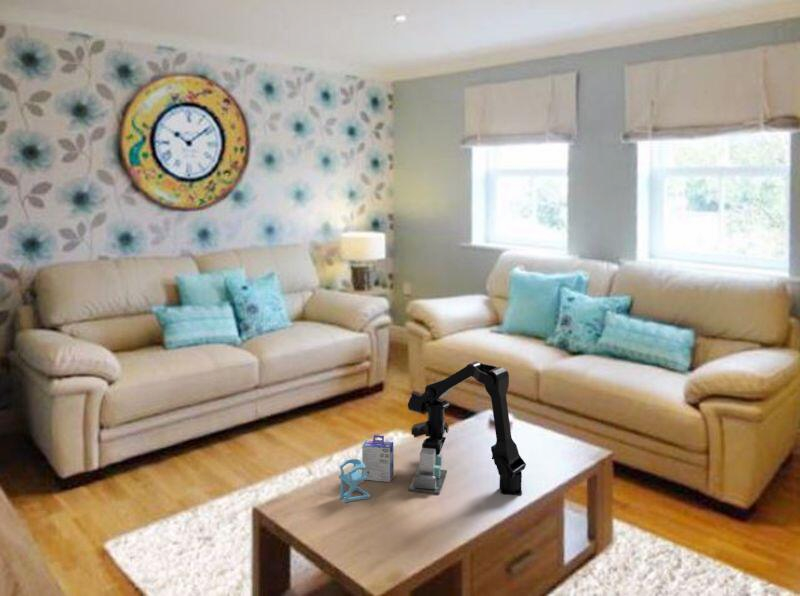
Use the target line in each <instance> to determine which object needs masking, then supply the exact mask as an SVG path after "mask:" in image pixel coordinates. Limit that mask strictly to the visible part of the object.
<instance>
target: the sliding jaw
mask: <svg viewBox="0 0 800 596" xmlns="http://www.w3.org/2000/svg"><path fill="white" fill-rule="evenodd" d="M442 465H443V455H442V454H441V453H440V454H436V458H435V476H436V478H440V470H441V467H442ZM418 467H419V475H420V464H419V465H418Z"/></svg>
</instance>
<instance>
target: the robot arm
mask: <svg viewBox="0 0 800 596" xmlns="http://www.w3.org/2000/svg"><path fill="white" fill-rule="evenodd" d="M470 378H474V380H475V381H476V382H478V383H480V384H483V385H484V388H485V391H486V393H487V394H488V396H490V399H491V400H490V401H491V407H492V415H493V423H494V430H495V437H496V440H495V441H496V442H495V444H493V445H492V446H491V447H490V451H491V456H492V457H491V460H493V462H494V466H496V469H497V472H498V475H499V482H498V483H499V484H498V486H499V489H500V493H501V494H503V495H517V496H518V495H519V494H521V495H523V491H522V477H523V474H522V473H523V472H522V471H524V470H525V469H526V466H527V464H526V462H525V461H524V459H523V458H522V456H521V455H520V453H519V448H518V447H517V444H516V443H515V441H514V440H513V438H512V437H513V436H512V432H511V424H510V417H509V408H508V401H507V393H508V389H509V385H510V384H509V383H510V375H509V372H508V370H507V369H505V368H504V367H502V366H495V365H492V364H487V363H486V364H485V363H483V362H482V363H481V362H479V361H473V362H471V363H469V364H467V365H466V366H465V367H463V368H462V369H460V370H458V371H456V372H455V373H453V374H450V376H447V377H446V378H443V379H440V380H438V381H435V382H432V383H430V384H428V385H426V386H425V387H424V389H425V390H424V392H423V394H421V393H419V392H416V391H415V392H413V393H411V396H410V398H409V400H408V402H407V408H408V411H411V412H412V413H418V414H421V415H426V414H427V419H426V420H427V421H421V422H417V423H414V424H413V425H412V427H411V429H410V430H411V431H410V433H411V435H413V437H414V438H417V437H420V436H424V437H426V438H425V439H424V440H423V441H422V446H421V449H422V448H430V449H436V454H441V451H442V449H443V446H444V444H445V441H446V438H447V437H446V436H444V435H445V433H446V434H449V431H450V425H449V424H448V423H447V422H446V418H445V409H446V408H448V407H450V406H451V405H450V403H449V402H448V401H446V399H443V400H441V399H442V398H444V397H446V396H447V395H448V394H449V393H450V392H451V391H452V390H453V388H455V387H457V386H458V385H459V384H462V383H463V382H465V381H467V380H469V379H470ZM439 399H440V400H439Z"/></svg>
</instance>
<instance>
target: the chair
mask: <svg viewBox="0 0 800 596" xmlns="http://www.w3.org/2000/svg"><path fill="white" fill-rule="evenodd" d="M348 464H351V465H353V467H352V469H350V470H349V471H348V472H345V471H344V469H343V468H344V467H345V466H346V465H348ZM338 467H339V469H340V472H341V473H340V474H339V475H338V478H339V479H340V493H339V500H344V501H343V502H344V503H345V502H346V503H349V502H348V501H350V502H354V501H353V500H356V501H362V500H367V499H370V498H371V494H370V493H368V492H367V491H365V490H363V489H362V488H361V487H359V486H358V484H360V483H361V482H363V481H368V480H367V477H366V476H365V475H364V471H365V467H366V466H365V465H364V463H363V462H362V460H361V459H358V458H351V459H347V460H345V461H344V462H342V464H340V465H339V466H338ZM359 470H362V471H359ZM346 484H347V485H348V486H349V488H348V491H345V489H346ZM356 489H357V490H356ZM353 491H354V492H355V491H358V492H360V493H361V492H362V494H363V495H358V496H353V497H350V496H351V495H352V492H353ZM354 492H353V493H354ZM364 494H365V495H364ZM344 497H345V498H344ZM342 498H344V499H342ZM366 498H367V499H366ZM361 499H362V500H361Z"/></svg>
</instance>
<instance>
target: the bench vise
mask: <svg viewBox="0 0 800 596" xmlns="http://www.w3.org/2000/svg"><path fill="white" fill-rule="evenodd" d="M447 474H448V470H447V469H440V478H436V476H428V475H419V466H418V467H417V469H416V472H415V474H414V476H413V478H412V480H411V483H410V486H409V488H408V492H413V493H422V494H431V495H440V494H441V490H442V489H443V486H444V483H445V479H446V476H447Z"/></svg>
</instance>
